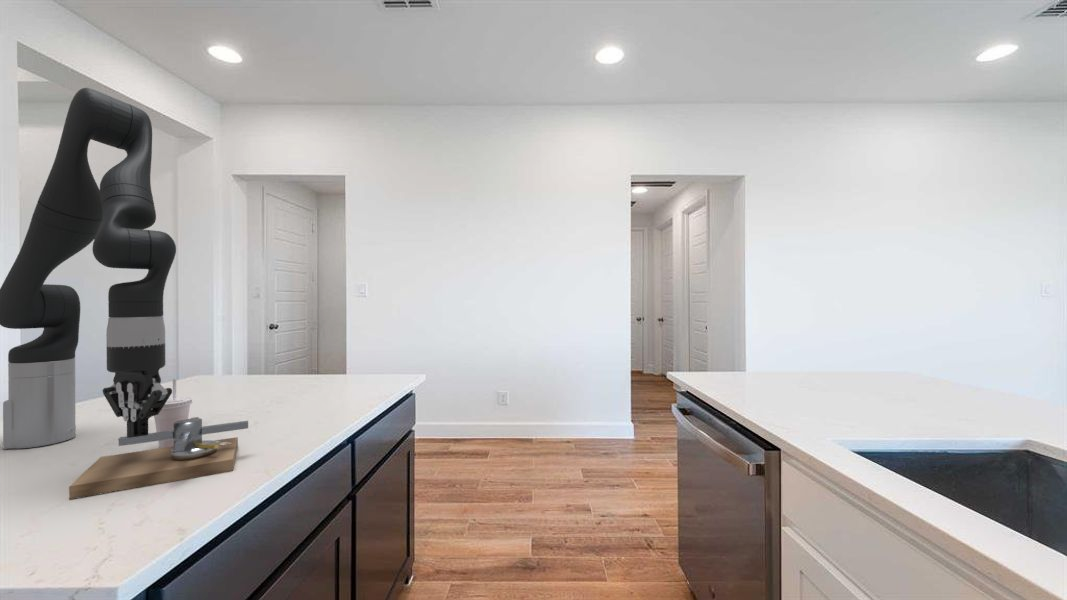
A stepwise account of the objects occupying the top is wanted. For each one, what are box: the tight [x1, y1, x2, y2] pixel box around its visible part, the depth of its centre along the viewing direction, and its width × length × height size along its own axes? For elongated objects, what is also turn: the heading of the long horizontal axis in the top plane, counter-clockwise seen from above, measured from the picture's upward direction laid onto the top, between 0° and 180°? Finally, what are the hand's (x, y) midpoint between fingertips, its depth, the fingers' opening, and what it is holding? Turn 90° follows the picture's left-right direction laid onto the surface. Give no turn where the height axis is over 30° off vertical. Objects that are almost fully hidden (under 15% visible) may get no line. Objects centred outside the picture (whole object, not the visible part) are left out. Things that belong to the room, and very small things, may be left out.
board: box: [68, 436, 239, 500], centre depth 74 cm, size 20×14×2 cm
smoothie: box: [153, 378, 193, 449], centre depth 85 cm, size 6×6×14 cm
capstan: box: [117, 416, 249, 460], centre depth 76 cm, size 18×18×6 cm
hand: (137, 441), depth 74 cm, fingers closed
